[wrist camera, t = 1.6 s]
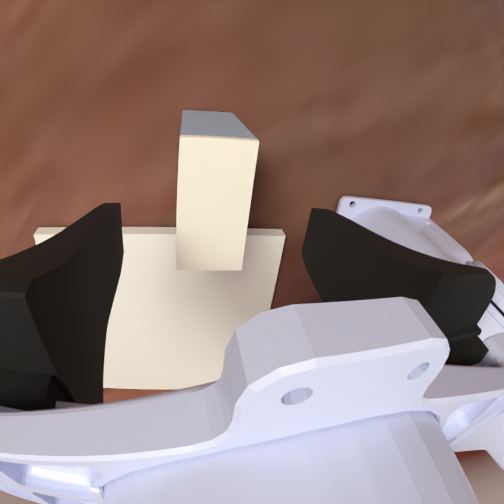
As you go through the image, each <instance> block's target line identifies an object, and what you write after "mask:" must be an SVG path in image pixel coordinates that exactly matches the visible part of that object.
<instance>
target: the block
mask: <svg viewBox="0 0 504 504" xmlns="http://www.w3.org/2000/svg"><path fill="white" fill-rule="evenodd" d="M258 147H259V141H258V140H257V138H256V137H255V136H254V135H253V134H252V133H251V132H250V131H249V130H248V129H247V128H246V127H245V126H244V125H243V124H242V123H241V122H240V121H239V120H238V118H237V117H236V116H235V115H234V114H233V113H228V112H213V111H193V110H183V112H182V122H181V132H180V145H179V163H178V185H177V219H176V271H230V270H242V263H243V256H244V248H245V241H246V233H247V226H248V219H249V211H250V204H251V197H252V190H253V182H254V175H255V168H256V161H257V154H258Z"/></svg>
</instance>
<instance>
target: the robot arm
mask: <svg viewBox="0 0 504 504" xmlns="http://www.w3.org/2000/svg"><path fill="white" fill-rule="evenodd" d="M352 201H353V204H352V205H349V204H350V202H352ZM418 209H419V211H418ZM430 214H431V207H430V206H428V205H423V204H415V203H407V202H399V201H390V200H381V199H372V198H362V197H352V196H343V197H342V198H341V199H340V200H339V203H338V207H337V211H336V212H334V211H331V210H328V209H319V208H312V210H311V214H310V218H309V223H308V227H307V231H306V236H305V240H304V244H303V248H302V252H301V253H302V256H303V259H304V263H305V266H306V268H307V271H308V274H309V276H310V278H311V280H312V282H313V284H314V286H315V288H316V290H317V292H318V293H319V295H320V297H321V299H322V301H323V303H310V304H293V305H288V306H284V307H280V308H276V309H271V310H267V311H263V312H261V313H259V314H258V315H256V316H255V317H253V318H252V319H250V320H249V321H247V322H246V323H244V324H243V325H241V326H240V327H239V328H237V329H236V330H235V331H234V333H233V335H232V337H231V339H230V341H229V343H228V345H227V347H226V349H225V354H224V363H223V371H222V374H221V377H220V379H218V380H217V381H214V382H209V383H205V384H201V385H197V386H192V387H188V388H183V389H179V390H174V391H169V392H164V393H159V394H154V395H149V396H143V397H138V398H132V399H126V400H120V401H113V402H107V403H103V375H104V357H105V344H106V334H107V327H108V322H109V317H110V313H111V309H112V305H113V301H114V297H115V294H116V290H117V286H118V282H119V279H120V275H121V269H122V263H123V255H124V247H123V235H122V222H121V206H120V203H104V204H101V205H100V206H98V207H96V208H95V209H93V210H92V211H91V212H89V213H88V214H86V215H85V216H83V217H82V218H80V219H79V220H78V221H76V222H75V223H73V224H71V225H70V226H68V227H67V228H65V229H64V230H62V231H61V232H59V233H57V234H56V235H54V236H52V237H51V238H49V239H47V240H45V241H43V242H41V243H39V244H37V245H35V246H33V247H31V248H28V249H26V250H24V251H21V252H19V253H17V254H15V255H12V256H9V257H6V258H4V259H1V260H0V490H1V491H4V492H7V493H9V494H12V495H15V496H18V497H21V498H24V499H27V500H30V501H34V502H37V503H40V504H479V503H478V500H477V498H476V496H475V494H474V492H473V490H472V488H471V486H470V484H469V482H468V480H467V477H466V475H465V473H464V471H463V469H462V467H461V465H460V463H459V462H458V460H457V458H456V456H455V454H454V452H459V451H470V450H486V451H487V452H488V453H489V454H490V455H491V457H492V458H493V459H494V460H495V461H496V462H497V464H498V465H499V466H500V467H501V468H502V470H503V471H504V284H503V283H502V282H501V281H500V280H499V279H498V278H497V277H496V276H495V275H494V274H493V273H492V272H491V271H490V270H489V269H488V268H487V267H486V266H485V265H484V264H482V263H481V262H480V261H473V259H472V257H471V256H470V254H469V253H468V252H467V251H466V250H465V249H464V248H463V247H462V246H461V245H460V244H459V243H457V242H456V241H455V240H454V239H453V238H452V237H451V236H449V235H448V234H447V233H446V232H445V231H444V230H442V229H441V228H440V227H439V226H438V225H437V224H435V223H434V222H433V221H432V220H431V219H429V217H430Z"/></svg>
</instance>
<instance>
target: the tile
mask: <svg viewBox="0 0 504 504" xmlns="http://www.w3.org/2000/svg"><path fill="white" fill-rule="evenodd" d="M65 228H67V227H46V228H38V229H37V231H36V232H35V234H34V238H35V242H36V245H37V244H39V243H41V242H43V241H45V240H47V239H49V238H51V237H52V236H54V235H56V234H57V233H59V232H61V231H62V230H64V229H65ZM122 235H123V247H124V255H123V263H122V269H121V275H120V279H119V282H118V286H117V290H116V294H115V297H114V301H113V305H112V309H111V313H110V317H109V322H108V327H107V334H106V344H105V357H104V375H103V388H123V389H183V388H188V387H192V386H197V385H201V384H205V383H209V382H214V381H217V380H218V379H220V377H221V374H222V371H223V363H224V354H225V349H226V347H227V345H228V343H229V341H230V339H231V337H232V335H233V333H234V331H235V330H236V329H237V328H239V327H240V326H241V325H243V324H244V323H246V322H247V321H249V320H250V319H252V318H253V317H255V316H256V315H258V314H259V313H261V312H263V311H267V310H270V307H271V303H272V298H273V294H274V289H275V284H276V280H277V275H278V270H279V265H280V261H281V256H282V251H283V246H284V241H285V234H284V232H283V231H282V229H251V228H247V233H246V241H245V248H244V256H243V263H242V270H230V271H176V227H122Z"/></svg>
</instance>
